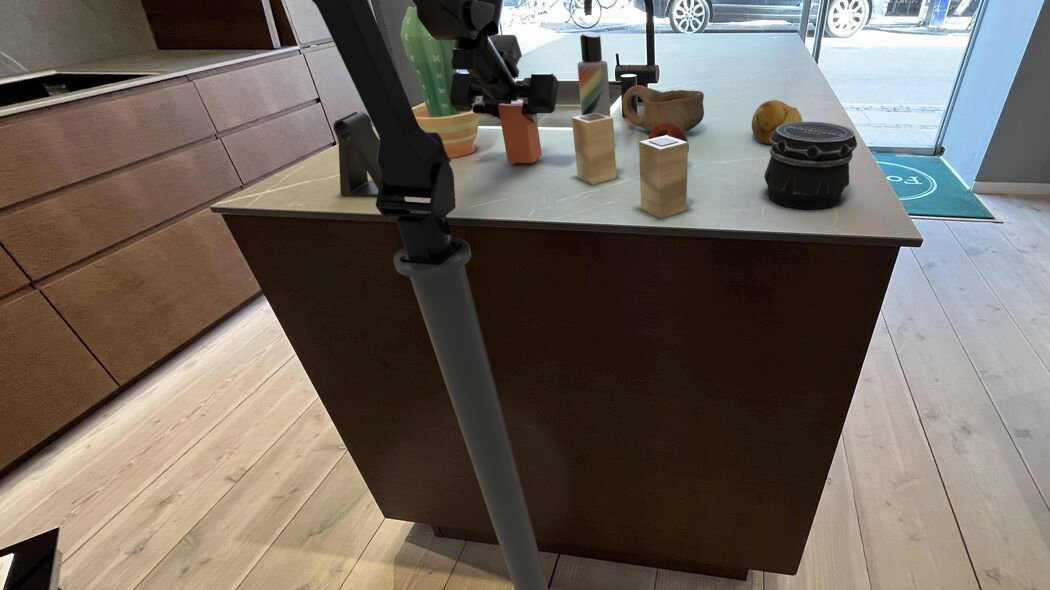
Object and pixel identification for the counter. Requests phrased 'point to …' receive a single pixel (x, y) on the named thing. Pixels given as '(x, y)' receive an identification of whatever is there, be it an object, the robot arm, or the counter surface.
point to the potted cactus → (437, 88)
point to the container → (809, 164)
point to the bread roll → (772, 118)
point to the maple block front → (663, 175)
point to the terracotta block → (519, 134)
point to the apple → (668, 131)
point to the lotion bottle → (593, 76)
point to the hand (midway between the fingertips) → (522, 120)
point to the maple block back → (594, 147)
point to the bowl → (665, 107)
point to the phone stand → (357, 155)
